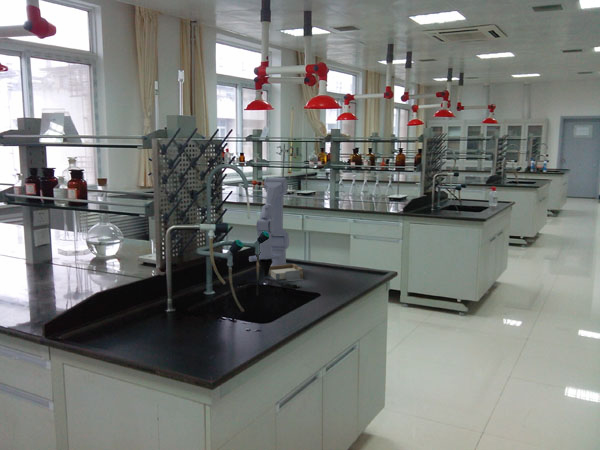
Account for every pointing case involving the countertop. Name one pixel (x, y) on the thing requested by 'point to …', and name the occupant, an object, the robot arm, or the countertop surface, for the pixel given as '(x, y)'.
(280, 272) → the cream rectangular block
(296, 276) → the bookend
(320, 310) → the countertop surface
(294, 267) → the brown wooden tray
